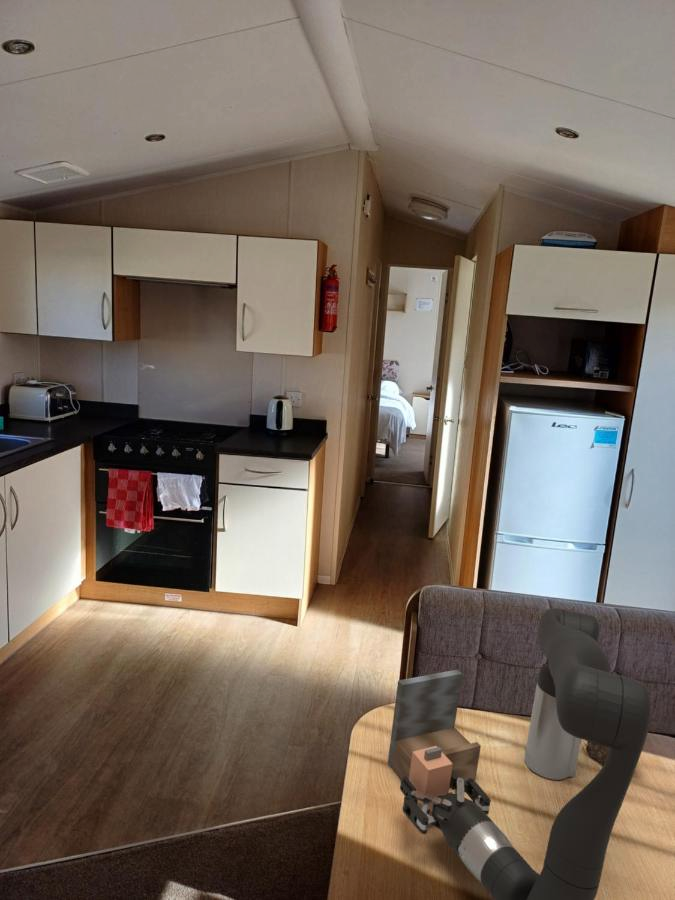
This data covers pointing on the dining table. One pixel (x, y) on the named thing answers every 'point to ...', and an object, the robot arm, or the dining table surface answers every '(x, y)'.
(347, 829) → the dining table surface
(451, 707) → the grey brown l-shaped block
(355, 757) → the dining table surface
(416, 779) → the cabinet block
